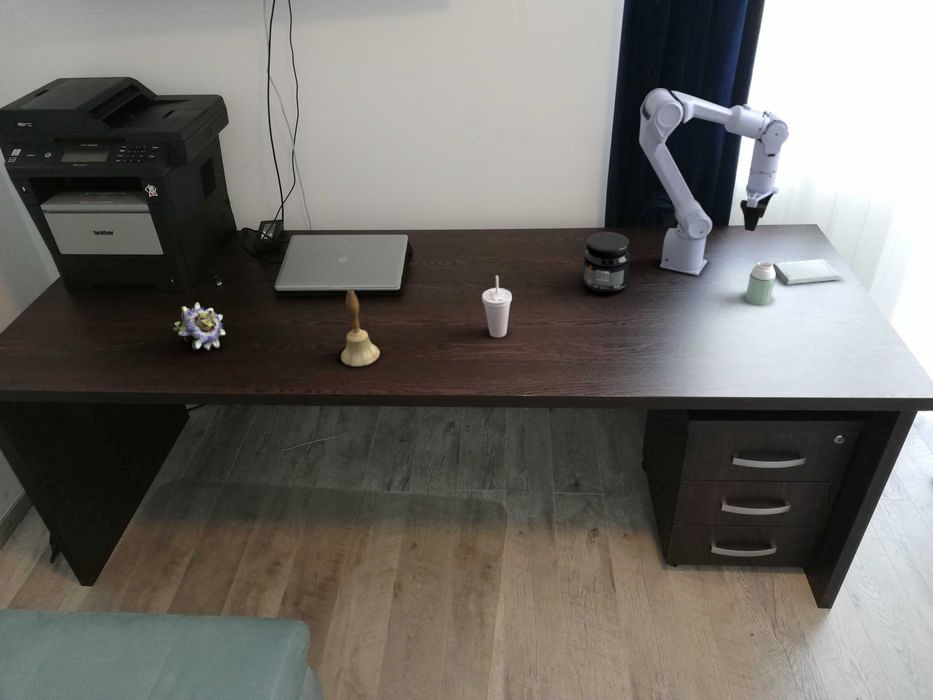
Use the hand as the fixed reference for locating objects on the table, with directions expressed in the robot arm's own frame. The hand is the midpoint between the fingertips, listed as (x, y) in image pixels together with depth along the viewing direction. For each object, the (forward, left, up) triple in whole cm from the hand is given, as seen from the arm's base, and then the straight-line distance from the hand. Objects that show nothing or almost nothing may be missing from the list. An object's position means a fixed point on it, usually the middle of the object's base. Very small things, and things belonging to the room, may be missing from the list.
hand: (753, 223), depth 171 cm
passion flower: (-96, -89, -11) cm, 132 cm away
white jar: (+7, -16, -5) cm, 18 cm away
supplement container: (-26, -26, -11) cm, 39 cm away
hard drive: (+14, 0, -11) cm, 17 cm away
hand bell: (-61, -76, -11) cm, 98 cm away
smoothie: (-39, -55, -11) cm, 69 cm away
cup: (+7, -16, -10) cm, 20 cm away
